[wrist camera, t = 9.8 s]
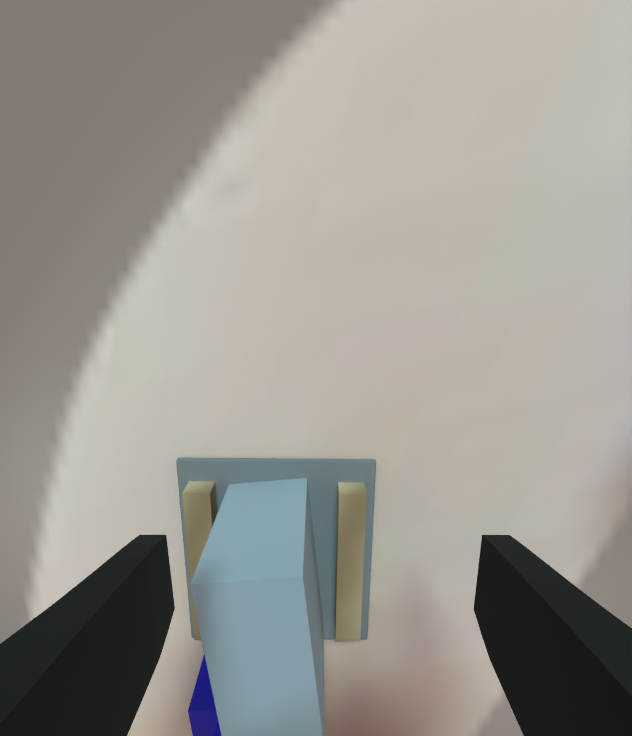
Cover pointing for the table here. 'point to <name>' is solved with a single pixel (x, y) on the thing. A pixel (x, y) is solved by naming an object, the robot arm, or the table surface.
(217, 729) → the cable clip
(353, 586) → the guide rails
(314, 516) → the guide mat
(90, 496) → the table surface
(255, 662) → the bar
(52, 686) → the robot arm
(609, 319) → the table surface
